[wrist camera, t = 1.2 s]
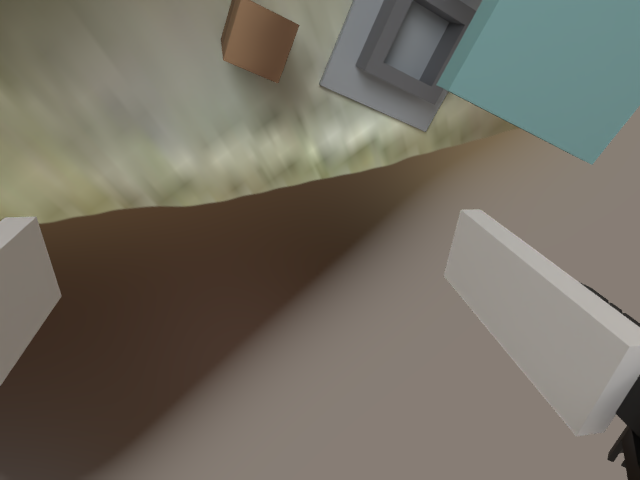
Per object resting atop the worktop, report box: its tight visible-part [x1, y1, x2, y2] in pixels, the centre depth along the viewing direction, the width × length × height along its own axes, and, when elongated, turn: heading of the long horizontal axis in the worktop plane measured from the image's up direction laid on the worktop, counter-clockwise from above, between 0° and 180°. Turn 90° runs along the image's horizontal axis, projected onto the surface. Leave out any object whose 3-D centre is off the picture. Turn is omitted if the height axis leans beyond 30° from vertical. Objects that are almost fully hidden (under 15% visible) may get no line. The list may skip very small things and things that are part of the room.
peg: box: [221, 0, 299, 83], centre depth 30 cm, size 4×4×12 cm
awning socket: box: [319, 0, 640, 164], centre depth 30 cm, size 18×14×21 cm
